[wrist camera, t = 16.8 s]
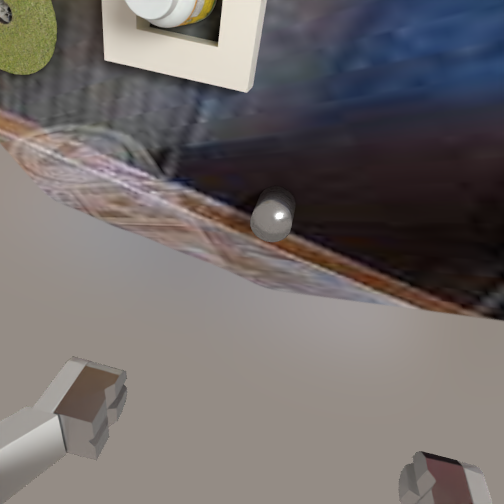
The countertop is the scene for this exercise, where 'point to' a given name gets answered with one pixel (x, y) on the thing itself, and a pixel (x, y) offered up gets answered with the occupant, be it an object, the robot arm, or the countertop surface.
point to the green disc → (26, 35)
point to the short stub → (273, 214)
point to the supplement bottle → (172, 11)
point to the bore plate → (188, 45)
